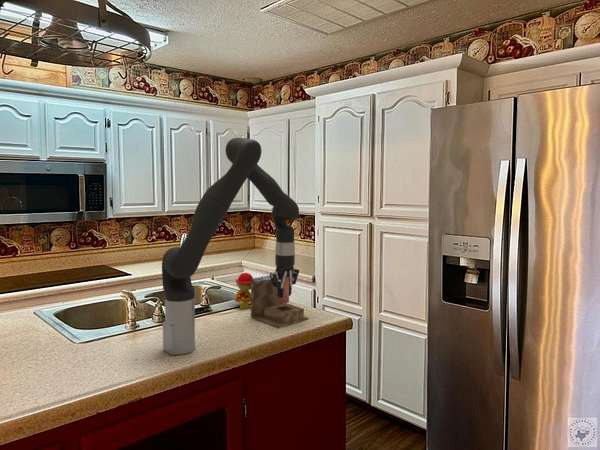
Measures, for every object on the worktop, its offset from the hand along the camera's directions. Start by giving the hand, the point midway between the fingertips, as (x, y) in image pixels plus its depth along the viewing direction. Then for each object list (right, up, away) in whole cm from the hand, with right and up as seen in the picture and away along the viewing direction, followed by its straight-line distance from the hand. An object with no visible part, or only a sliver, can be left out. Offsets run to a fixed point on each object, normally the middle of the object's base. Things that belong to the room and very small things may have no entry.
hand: (284, 296), depth 174 cm
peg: (0, -2, 0) cm, 2 cm away
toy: (-18, -8, +18) cm, 26 cm away
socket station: (-2, -9, +3) cm, 10 cm away
